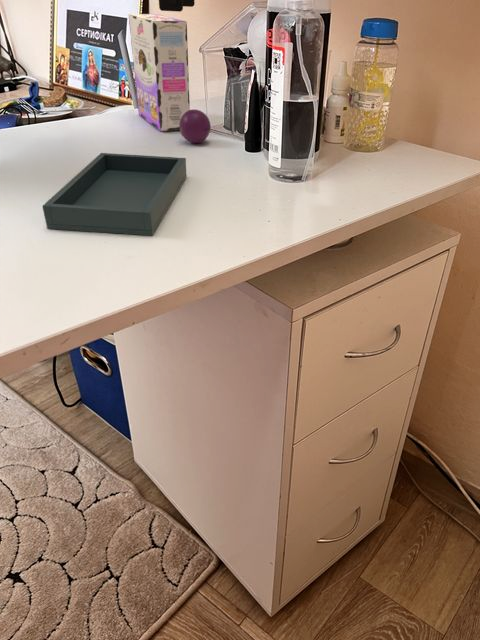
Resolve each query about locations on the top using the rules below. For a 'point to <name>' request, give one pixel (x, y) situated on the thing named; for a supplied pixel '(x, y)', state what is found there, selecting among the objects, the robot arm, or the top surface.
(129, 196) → the tray
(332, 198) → the top surface
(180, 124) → the grape
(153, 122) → the candy box
